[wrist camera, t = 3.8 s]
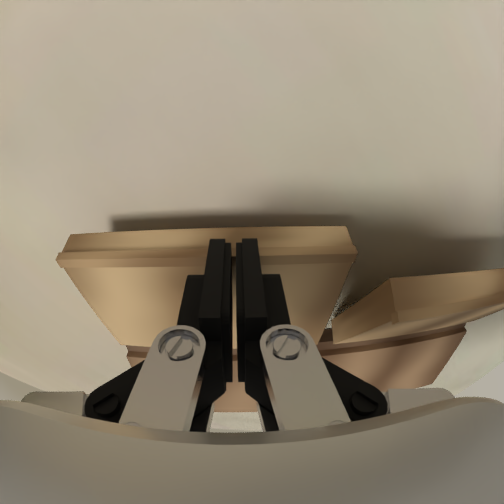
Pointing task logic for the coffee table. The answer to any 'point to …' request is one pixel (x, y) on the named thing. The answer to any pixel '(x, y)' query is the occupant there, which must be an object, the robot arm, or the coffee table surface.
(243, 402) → the floor plank
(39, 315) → the coffee table surface
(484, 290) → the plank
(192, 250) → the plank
